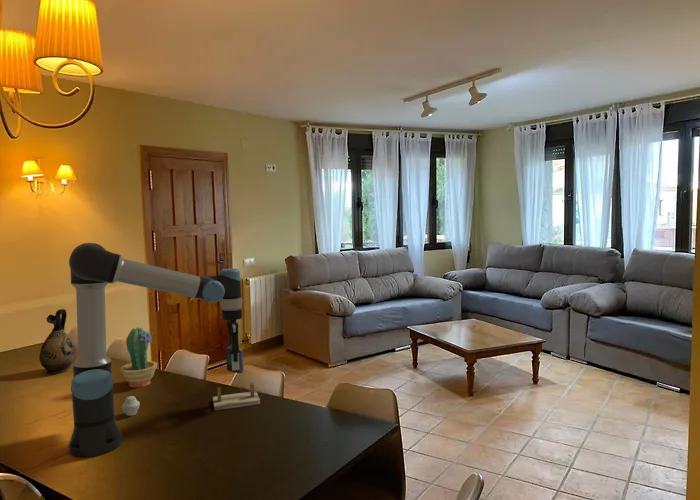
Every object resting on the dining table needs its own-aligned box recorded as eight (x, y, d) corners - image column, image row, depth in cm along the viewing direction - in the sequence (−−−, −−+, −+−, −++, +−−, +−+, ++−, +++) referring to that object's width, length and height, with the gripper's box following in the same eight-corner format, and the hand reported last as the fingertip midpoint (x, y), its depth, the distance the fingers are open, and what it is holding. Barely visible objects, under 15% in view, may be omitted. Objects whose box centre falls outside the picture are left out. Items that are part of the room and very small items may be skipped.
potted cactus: (127, 392, 207) (123, 334, 205) (116, 383, 218) (112, 328, 216) (164, 383, 217) (160, 327, 215) (151, 375, 228) (148, 322, 226)
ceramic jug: (65, 375, 232) (61, 313, 230) (33, 376, 232) (28, 313, 230) (85, 364, 249) (81, 306, 246) (55, 365, 249) (51, 307, 247)
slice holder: (260, 403, 190) (259, 387, 189) (214, 410, 184) (213, 393, 184) (256, 394, 200) (255, 378, 200) (213, 400, 195) (212, 384, 194)
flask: (245, 371, 190) (243, 344, 189) (239, 374, 187) (237, 346, 186) (230, 367, 196) (228, 341, 195) (224, 369, 193) (222, 343, 192)
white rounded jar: (133, 418, 180) (132, 399, 179) (118, 417, 181) (117, 398, 180) (143, 411, 186) (142, 393, 185) (129, 410, 187) (128, 392, 186)
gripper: (244, 312, 181) (247, 373, 183) (239, 303, 201) (241, 358, 202) (223, 314, 179) (227, 375, 180) (220, 305, 198) (222, 360, 200)
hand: (234, 366), depth 191 cm, fingers closed on flask, 8 cm apart
